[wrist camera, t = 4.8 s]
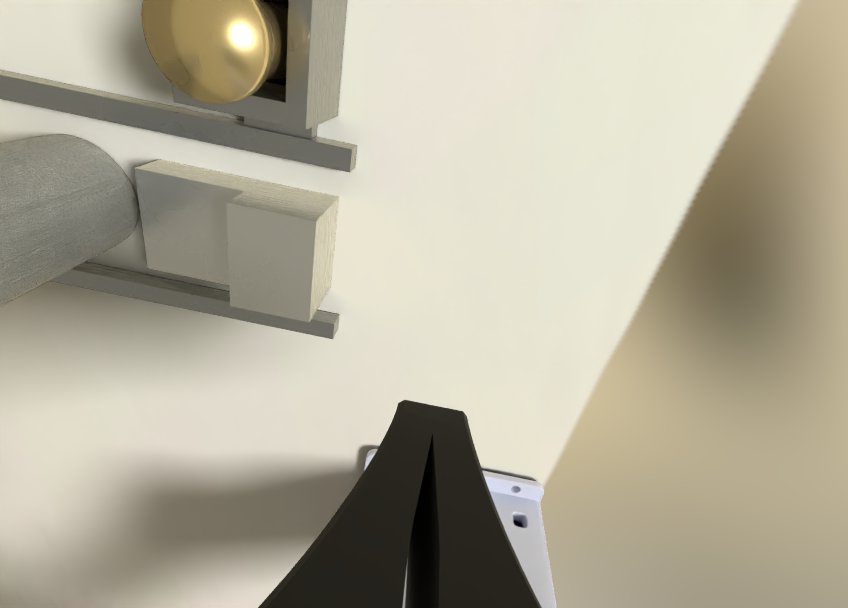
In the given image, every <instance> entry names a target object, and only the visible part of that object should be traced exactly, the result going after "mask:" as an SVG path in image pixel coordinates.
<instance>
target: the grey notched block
mask: <svg viewBox="0 0 848 608" xmlns="http://www.w3.org/2000/svg"><path fill="white" fill-rule="evenodd" d="M134 171H135V178H136V186H137V193H138V200H139V207H140V215H141V222H142V229H143V237H144V244H145V251H146V258H147V266H148V269H153V270H157V271H162V272H167V273H172V274H177V275H182V276H186V277H191V278H196V279H201V280H206V281H211V282H215V283H220V284H225V285H229V288H230V306H232V307H237V308H242V309H247V310H252V311H257V312H261V313H266V314H271V315H276V316H281V317H286V318H290V319H295V320H300V321H305V322H310V321H311V319H312V317H313V316H314V314H315V312H316V311H317V309H318V307H319V306H320V304H321V302H322V301H323V299H324V297H325V296H326V294H327V292H328V291H329V289H330V288H331V279H332V268H333V257H334V246H335V235H336V224H337V213H338V203H339V197H337V196H332V195H327V194H323V193H318V192H313V191H308V190H304V189H299V188H294V187H289V186H284V185H280V184H275V183H270V182H265V181H261V180H256V179H251V178H246V177H242V176H237V175H232V174H227V173H223V172H218V171H213V170H208V169H204V168H199V167H194V166H189V165H185V164H180V163H175V162H170V161H166V160H161V159H160V160H157V161H154V162H151V163H148V164H144V165H141V166H138V167H135V168H134Z"/></svg>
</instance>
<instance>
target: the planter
mask: <svg viewBox="0 0 848 608" xmlns="http://www.w3.org/2000/svg"><path fill="white" fill-rule="evenodd" d="M137 217H138V206H137V200H136V196H135V193H134V190H133V188H132V185H131V183H130V181H129V180H128V178H127V176H126V175H125V173H124V172H123V171H122V169H121V168H120V167H119V165H118V164H117V163H116V162H115V161H114V160H113V159H112V158H111V157H110V156H109V155H107V154H106V153H105V152H104V151H103V150H101V149H100V148H98V147H97V146H95V145H93V144H92V143H90V142H88V141H86V140H83V139H81V138H78V137H74V136H70V135H62V134H59V135H48V136H39V137H34V138H28V139H23V140H17V141H12V142H6V143H1V144H0V306H2V305H4V304H6V303H8V302H10V301H12V300H13V299H15V298H17V297H19V296H21V295H23V294H25V293H27V292H29V291H30V290H32V289H34V288H36V287H38V286H40V285H42V284H44V283H46V282H47V281H49V280H51V279H53V278H55V277H57V276H59V275H61V274H63V273H64V272H66V271H68V270H70V269H72V268H74V267H76V266H78V265H80V264H82V263H83V262H85V261H87V260H89V259H91V258H93V257H95V256H97V255H99V254H100V253H102V252H104V251H106V250H108V249H110V248H112V247H114V246H115V245H117V244H118V243H120V242H122V241H123V240H125V239H126V238H127V237H128V236H129V235H130V234H131V233H132V231H133V230H134V228H135V225H136V222H137Z"/></svg>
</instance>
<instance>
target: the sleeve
mask: <svg viewBox="0 0 848 608" xmlns="http://www.w3.org/2000/svg"><path fill="white" fill-rule="evenodd" d="M0 99H5V100H10V101H15V102H19V103H24V104H29V105H34V106H38V107H43V108H48V109H52V110H57V111H62V112H67V113H71V114H76V115H81V116H86V117H90V118H95V119H100V120H105V121H109V122H114V123H119V124H124V125H128V126H133V127H138V128H142V129H147V130H152V131H157V132H161V133H166V134H171V135H176V136H180V137H185V138H190V139H195V140H199V141H204V142H209V143H213V144H218V145H223V146H228V147H232V148H237V149H242V150H247V151H251V152H256V153H261V154H266V155H270V156H275V157H280V158H285V159H289V160H294V161H299V162H303V163H308V164H313V165H318V166H322V167H327V168H332V169H337V170H341V171H346V172H351V171H352V170H353V169H354V168H355V162H356V152H357V145H353V144H349V143H344V142H339V141H334V140H330V139H325V138H320V137H315V138H313V139H307V138H303V137H298V136H293V135H289V134H284V133H279V132H274V131H270V130H265V129H260V128H255V127H251V126H246V125H244V121H240V120H235V119H231V118H226V117H221V116H216V115H212V114H207V113H202V112H198V111H193V110H188V109H183V108H179V107H174V106H169V105H165V104H160V103H155V102H150V101H146V100H141V99H136V98H132V97H127V96H122V95H117V94H113V93H108V92H103V91H99V90H94V89H89V88H84V87H80V86H75V85H70V84H66V83H61V82H56V81H51V80H47V79H42V78H37V77H33V76H28V75H23V74H18V73H14V72H9V71H4V70H0ZM49 281H54V282H58V283H63V284H68V285H73V286H78V287H83V288H87V289H92V290H97V291H102V292H107V293H112V294H117V295H121V296H126V297H131V298H136V299H141V300H146V301H150V302H155V303H160V304H165V305H170V306H175V307H180V308H184V309H189V310H194V311H199V312H204V313H209V314H213V315H218V316H223V317H228V318H233V319H238V320H242V321H247V322H252V323H257V324H262V325H267V326H272V327H276V328H281V329H286V330H291V331H296V332H301V333H305V334H310V335H315V336H320V337H325V338H330V339H333V338H334V336H335V334H336V332H337V330H338V321H339V314H334V313H329V312H325V311H320V310H317V311H316V312H315V314H314V316H313V317H312V319H311V321H310V322H305V321H300V320H295V319H290V318H286V317H281V316H276V315H271V314H266V313H261V312H257V311H252V310H247V309H242V308H237V307H232V306H230V292H228V291H223V290H218V289H214V288H209V287H204V286H199V285H194V284H189V283H185V282H180V281H175V280H170V279H165V278H160V277H156V276H151V275H146V274H141V273H136V272H131V271H127V270H122V269H117V268H112V267H107V266H103V265H98V264H93V263H88V262H83V263H82V264H80V265H78V266H76V267H74V268H72V269H70V270H68V271H66V272H64V273H63V274H61V275H59V276H57V277H55V278H53V279H51V280H49Z"/></svg>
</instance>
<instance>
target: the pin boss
mask: <svg viewBox="0 0 848 608" xmlns="http://www.w3.org/2000/svg"><path fill="white" fill-rule="evenodd" d="M346 9H347V0H289V1H288V36H287V72H286V86H283V85H278V84H273V83H269V82H264V83H263V85H262V86H261V87H260V88H259V89H258V90H257V91H256V92H255V93H254V94H252V95H251V96H249V97H247V98H245V99H242V100H238V101H232V102H227V103H207V102H203V101H200V100H197V99H195V98H192V97H190V96H189V95H187V94H185V93H184V92H182V91H181V90H180V89H178V88H177V87H176V86H175V85H174V84H172V85H173V97H174V102H177V103H182V104H186V105H191V106H196V107H200V108H205V109H210V110H215V111H219V112H224V113H229V114H233V115H238V116H243V117H244V125H246V126H251V127H255V128H260V129H265V130H270V131H274V132H279V133H284V134H289V135H293V136H298V137H303V138H307V139H313V138H315V137H317V125H318V124H320V123H323V122H325V121H327V120H329V119H332V118H334V117H336V116H338V106H339V93H340V81H341V69H342V57H343V45H344V33H345V21H346Z"/></svg>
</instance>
